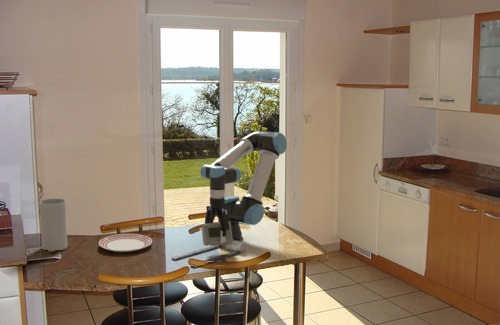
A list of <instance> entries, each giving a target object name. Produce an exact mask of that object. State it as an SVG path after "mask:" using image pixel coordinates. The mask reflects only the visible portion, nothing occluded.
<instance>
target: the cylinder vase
mask: <svg viewBox="0 0 500 325" xmlns="http://www.w3.org/2000/svg"><path fill="white" fill-rule="evenodd" d="M66 202H67V201H66V199H64V198H46V199H42V200H40V201H39V209H40V210H39V215H40V216H39V217H40V235H41V237H40V238H41V249H42V250H43V249H45V250H53V249H59V250H60V251H62V250H65V249H66V248H68V229H67V227H68V226H67V224H68V223H67V207H66V205H67V204H66ZM45 250H44V251H45Z"/></svg>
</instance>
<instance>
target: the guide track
mask: <svg viewBox="0 0 500 325" xmlns="http://www.w3.org/2000/svg"><path fill="white" fill-rule="evenodd" d="M245 245H246V243H245V242H243V241H240V240H234V239H233V242H231V243H227V244H221V245H213V246H210V245H209V246H206V247H204V248H200V249H196V250H193V251H190V252H187V253H182V254H180V255H179V254H178V255H176V256H172V257H171V260H172V261H173V262H175V261H178V260H182V259H185V258H189V257H192V256H196V255H198V254H202V253H206V252H209V251H212V250H216V249H219V248H223V249H226V250H229V251H230V252H229V253H228V252H227V253H224V254H222V255H218V256H215V257H212V258H209V259H205V260H204V261H215V262H218V261H221V260H224V259H228V258H230V257H233V256H236V255H237V256H238V255H240V254H241V255H242V254H243V253H245V251H246V250H245V248H246V246H245ZM190 267H191V268H193V269H197V267H195V266H193V265H192V264H190Z"/></svg>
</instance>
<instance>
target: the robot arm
mask: <svg viewBox="0 0 500 325" xmlns="http://www.w3.org/2000/svg"><path fill="white" fill-rule="evenodd" d="M287 147H288V143H287V138H286V136H285V135H284V134H283V133H281V132H277V131H267V130H266V131H265V130H256V131H254V132H252V133H249V134H247V135H246V136H244V137H243V138H241V139H240V140H239V143H238V144H236V145H235V146H233V147H232V148H231V149H230V150H228V151H227V152H226V153H224V154H222V156H220V157H219V158H218V159H216V160H215V161H214V162H212V163H211V164H208V163H207V164H203V165H202V166H201V168H200V175H201V176H200V177H202V179H206V180H209V205H206V208H205V209H206V211H205V220H204V224H208V223H214V221H215V218H218V220H217V222H220V225H221V228H222V230H221V242H220V243H224V242H225V236H226V230H228V229H229V221H230V223H231V230H232V237H233V239H234V240H237V241H240V240H241V239H242V238H243V233H242V230H241V226H240V223H242V224H246V225H252V226H255V225H258V224H259V223H260V222H261V221H262V219H263V217H264V215H265V208H264V206H263V203H264V202H263V200H262V198H263V195H264V193H265V189H266V187H267V184H268V181H269V178H270V175H271V172H272V170H273V169H272V168H273V166H274V164H275V161H276V160H278V159H279V158H280V156H281V155H283V154H284V153H285V152H286V150H287ZM253 152H258V154H259V157H258V160H257V163H256V166H255V168H254V172H253V175H252V177H251V180H250V183H249V186H248V189H247V191H246V194H245V195H243V196H242V198H241V200H240V197H239V196H238V195H230V196H226V192H225V190H226V185H227V184H232V183H236V182H239V181H240V179H241V178H242V171H241V169H240V168H238V167H233V165H235V164H237V162H238V161H240V160H241V159H243V158H244V157H245V156H247V155H250V154H253Z"/></svg>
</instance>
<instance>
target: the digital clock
mask: <svg viewBox="0 0 500 325" xmlns="http://www.w3.org/2000/svg"><path fill="white" fill-rule="evenodd" d="M221 230H222V228H221V225H220V222H218V221H215V222H213V223H208V224H205V223H202V224H201V234H202V242H203V246H206V247H210V246H213V245H221V244H227V243H231V242H233V237H232V230H231V223H230V221H229V229H228V230H226V236H225V242H224V243H220V242H221Z"/></svg>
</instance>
